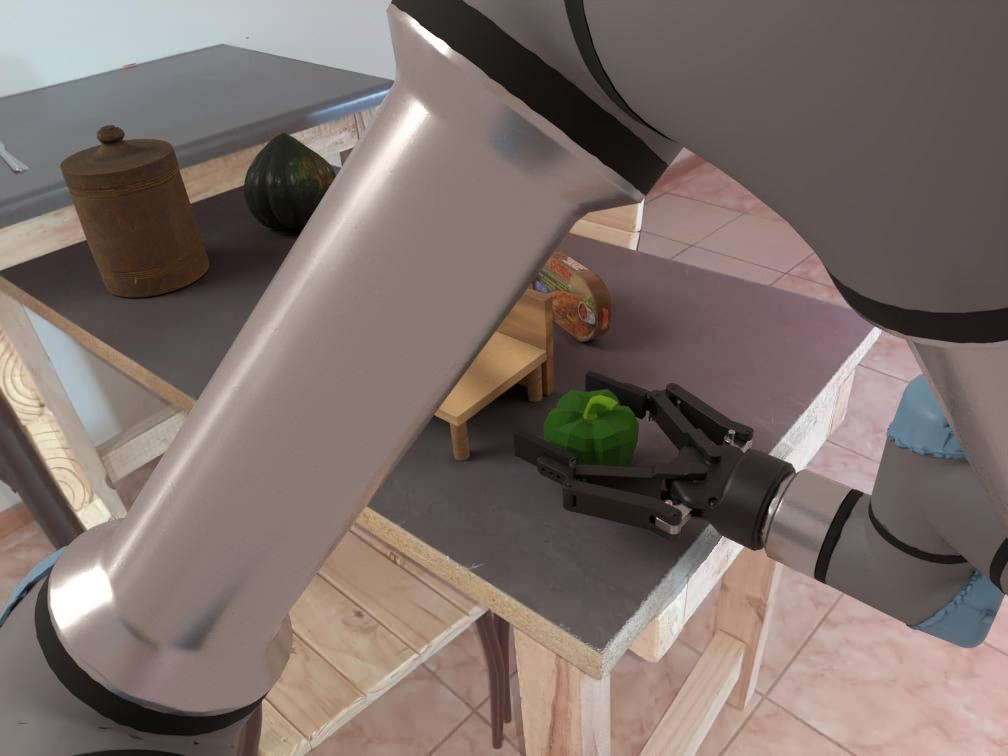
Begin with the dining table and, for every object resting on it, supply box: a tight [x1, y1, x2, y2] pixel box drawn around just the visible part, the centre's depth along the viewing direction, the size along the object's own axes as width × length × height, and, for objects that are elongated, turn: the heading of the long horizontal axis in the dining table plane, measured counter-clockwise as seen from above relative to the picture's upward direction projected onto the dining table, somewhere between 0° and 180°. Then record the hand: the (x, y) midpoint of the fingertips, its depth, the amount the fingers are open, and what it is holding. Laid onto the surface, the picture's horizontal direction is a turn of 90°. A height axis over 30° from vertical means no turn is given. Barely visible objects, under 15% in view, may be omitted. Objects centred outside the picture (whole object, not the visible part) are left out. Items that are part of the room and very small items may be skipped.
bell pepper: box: [543, 389, 640, 482], centre depth 71 cm, size 8×8×10 cm
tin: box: [531, 250, 612, 343], centre depth 95 cm, size 15×3×8 cm, turn 28°
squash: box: [243, 131, 337, 231], centre depth 126 cm, size 14×15×15 cm
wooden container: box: [59, 124, 210, 298], centre depth 110 cm, size 15×15×22 cm
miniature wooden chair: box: [434, 287, 555, 462], centre depth 82 cm, size 15×14×12 cm
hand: (553, 411), depth 73 cm, fingers open, 10 cm apart
